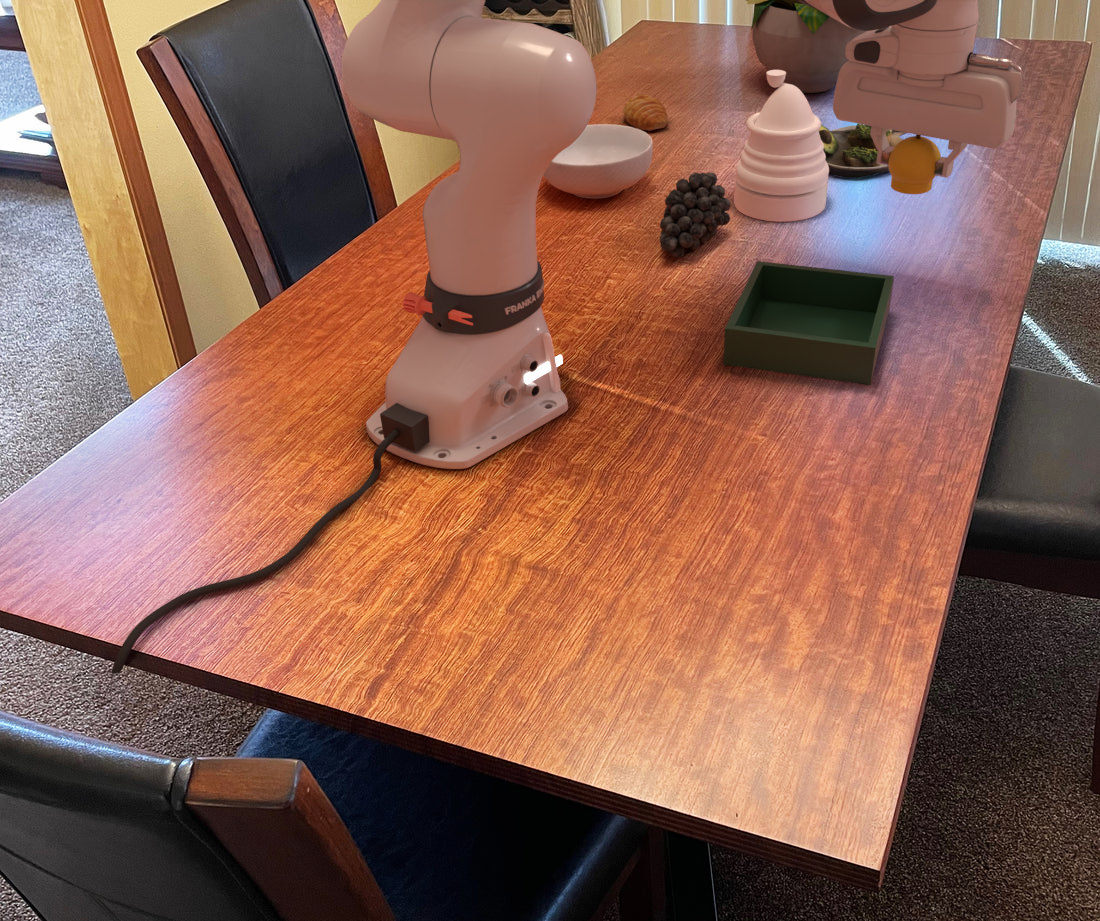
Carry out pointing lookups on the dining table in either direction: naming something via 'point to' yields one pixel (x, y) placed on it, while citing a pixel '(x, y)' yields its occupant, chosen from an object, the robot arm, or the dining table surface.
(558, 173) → the cereal bowl
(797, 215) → the honey pot
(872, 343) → the crate
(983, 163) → the dining table surface
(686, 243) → the fruit
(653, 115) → the pastry
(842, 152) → the salad plate
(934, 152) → the orange
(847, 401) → the dining table surface
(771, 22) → the flower arrangement
